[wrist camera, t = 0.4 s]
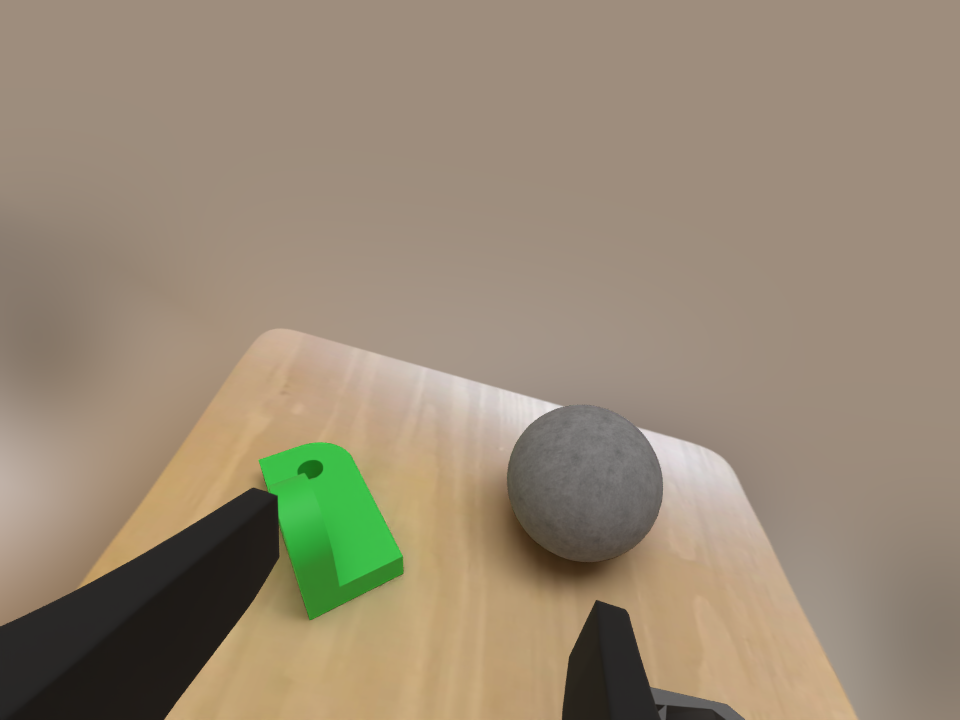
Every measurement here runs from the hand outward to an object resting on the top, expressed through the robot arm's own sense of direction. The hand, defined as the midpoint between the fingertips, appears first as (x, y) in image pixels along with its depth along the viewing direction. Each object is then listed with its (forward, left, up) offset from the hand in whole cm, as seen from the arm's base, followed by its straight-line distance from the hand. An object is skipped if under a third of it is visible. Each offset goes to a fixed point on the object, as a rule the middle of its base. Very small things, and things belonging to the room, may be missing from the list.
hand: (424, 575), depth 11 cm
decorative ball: (+16, -8, -20) cm, 27 cm away
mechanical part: (+14, +9, -20) cm, 26 cm away
